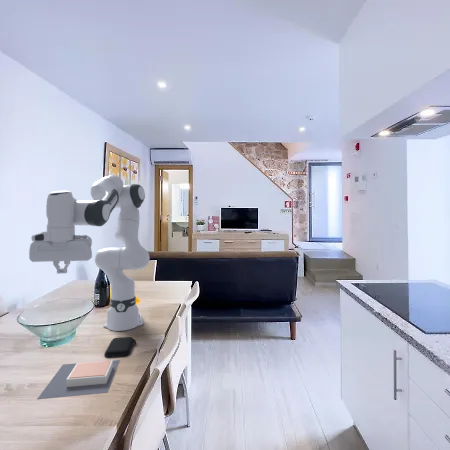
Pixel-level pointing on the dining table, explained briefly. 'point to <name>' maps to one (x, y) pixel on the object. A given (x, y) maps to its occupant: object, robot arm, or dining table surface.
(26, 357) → the dining table surface
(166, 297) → the dining table surface
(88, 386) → the mat
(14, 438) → the dining table surface
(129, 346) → the carrying case or bag
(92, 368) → the tile
